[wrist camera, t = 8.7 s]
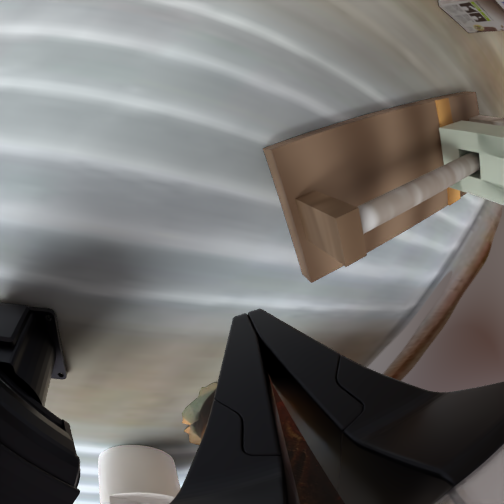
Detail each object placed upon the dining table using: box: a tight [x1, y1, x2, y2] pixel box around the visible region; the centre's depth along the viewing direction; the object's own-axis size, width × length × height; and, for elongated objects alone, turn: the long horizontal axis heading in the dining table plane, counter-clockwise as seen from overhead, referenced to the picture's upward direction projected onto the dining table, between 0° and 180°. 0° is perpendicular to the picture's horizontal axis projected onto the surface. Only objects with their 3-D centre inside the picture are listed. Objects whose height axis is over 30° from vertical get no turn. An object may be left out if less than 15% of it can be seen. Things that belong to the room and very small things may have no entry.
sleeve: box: [439, 120, 504, 205], centre depth 18 cm, size 4×5×9 cm
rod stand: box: [263, 92, 504, 283], centre depth 19 cm, size 24×10×8 cm, turn 110°
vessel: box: [182, 377, 345, 504], centre depth 19 cm, size 14×14×20 cm
